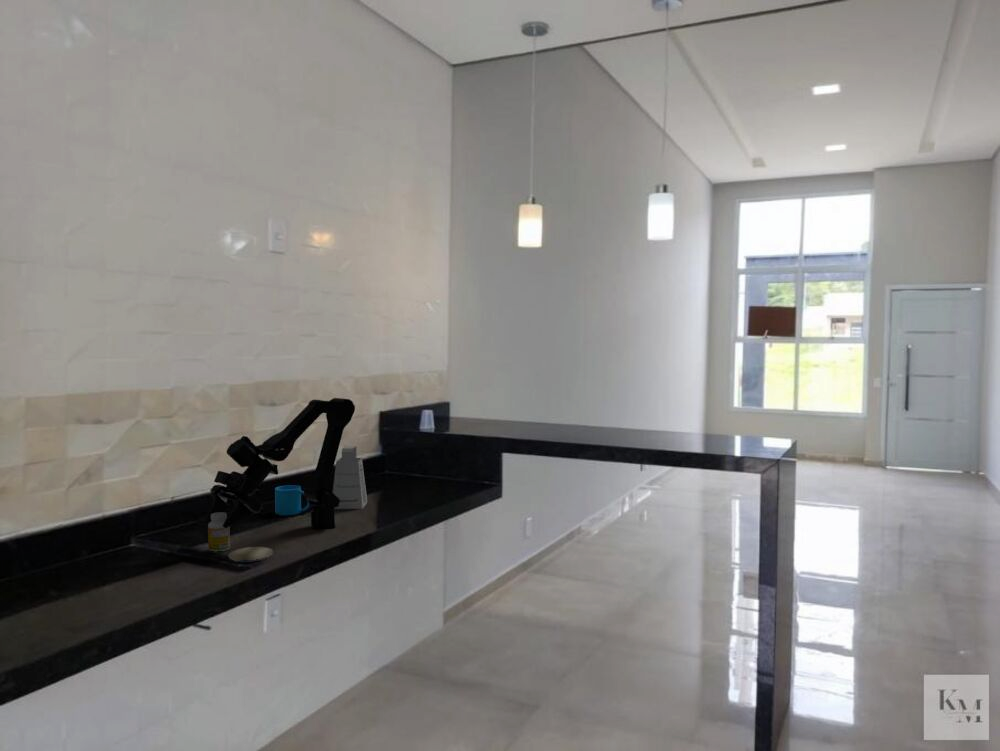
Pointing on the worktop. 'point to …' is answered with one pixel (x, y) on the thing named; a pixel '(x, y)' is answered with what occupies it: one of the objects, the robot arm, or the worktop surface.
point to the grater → (350, 480)
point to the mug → (288, 500)
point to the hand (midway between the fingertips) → (215, 524)
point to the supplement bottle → (218, 533)
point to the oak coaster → (250, 553)
